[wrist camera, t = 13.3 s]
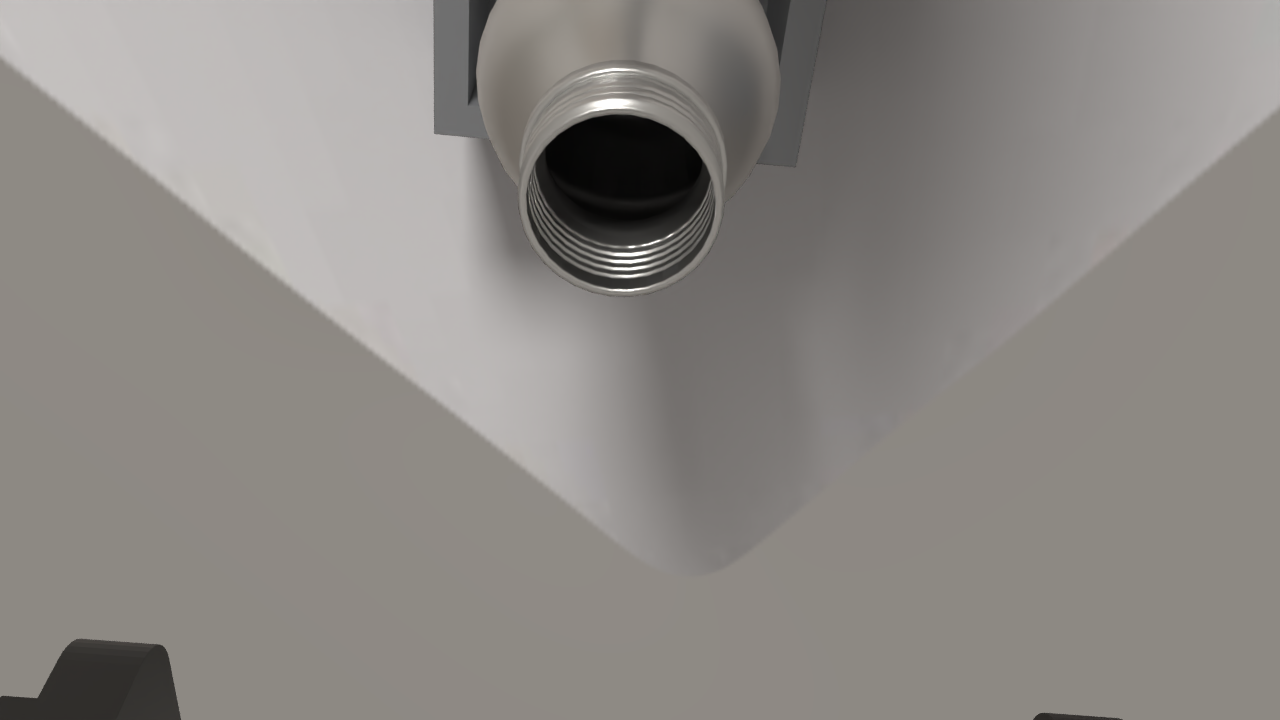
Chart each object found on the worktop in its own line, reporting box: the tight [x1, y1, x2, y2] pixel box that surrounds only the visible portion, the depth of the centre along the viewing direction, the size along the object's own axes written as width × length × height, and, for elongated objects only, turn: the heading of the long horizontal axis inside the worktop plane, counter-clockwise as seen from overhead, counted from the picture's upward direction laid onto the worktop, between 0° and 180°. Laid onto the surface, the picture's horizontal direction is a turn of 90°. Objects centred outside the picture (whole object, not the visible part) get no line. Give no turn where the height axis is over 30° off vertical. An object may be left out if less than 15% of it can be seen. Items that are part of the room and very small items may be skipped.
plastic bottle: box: [476, 0, 781, 297], centre depth 28 cm, size 6×7×20 cm
